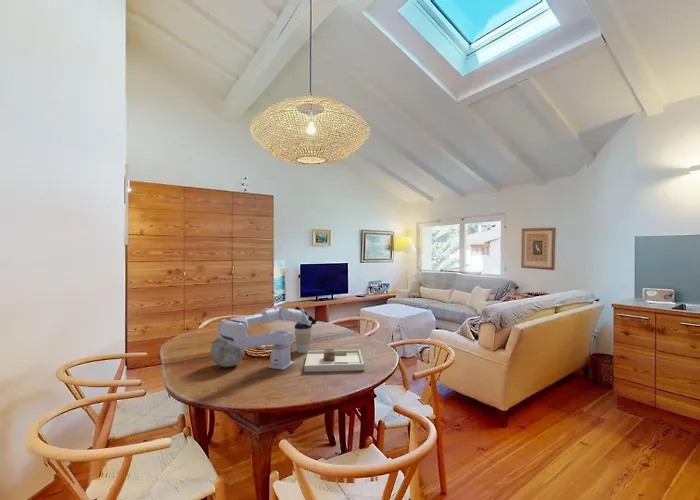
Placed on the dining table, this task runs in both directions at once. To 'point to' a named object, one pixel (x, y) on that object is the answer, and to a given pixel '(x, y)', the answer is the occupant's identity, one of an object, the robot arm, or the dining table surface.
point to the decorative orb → (225, 353)
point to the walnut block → (329, 354)
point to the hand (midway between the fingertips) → (310, 318)
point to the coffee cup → (302, 337)
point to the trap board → (342, 363)
